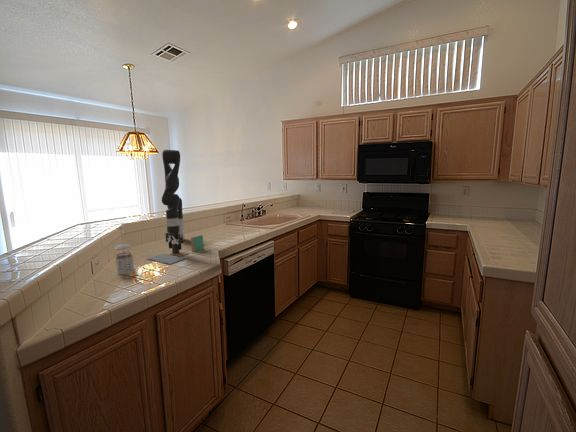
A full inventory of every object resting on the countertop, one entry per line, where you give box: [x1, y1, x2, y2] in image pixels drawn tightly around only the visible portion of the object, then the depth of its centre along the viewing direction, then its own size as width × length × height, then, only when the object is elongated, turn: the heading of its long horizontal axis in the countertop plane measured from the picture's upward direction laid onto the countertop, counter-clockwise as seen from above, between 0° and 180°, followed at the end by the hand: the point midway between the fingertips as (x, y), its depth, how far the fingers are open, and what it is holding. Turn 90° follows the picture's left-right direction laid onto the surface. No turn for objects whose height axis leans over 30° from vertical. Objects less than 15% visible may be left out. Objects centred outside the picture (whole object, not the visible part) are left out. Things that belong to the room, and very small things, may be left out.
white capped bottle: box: [114, 226, 136, 275], centre depth 151 cm, size 10×12×25 cm
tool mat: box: [146, 253, 186, 265], centre depth 173 cm, size 22×11×1 cm, turn 60°
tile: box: [190, 234, 204, 253], centre depth 190 cm, size 2×8×10 cm, turn 150°
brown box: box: [169, 242, 190, 258], centre depth 182 cm, size 10×7×7 cm
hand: (175, 248), depth 184 cm, fingers open, 8 cm apart
